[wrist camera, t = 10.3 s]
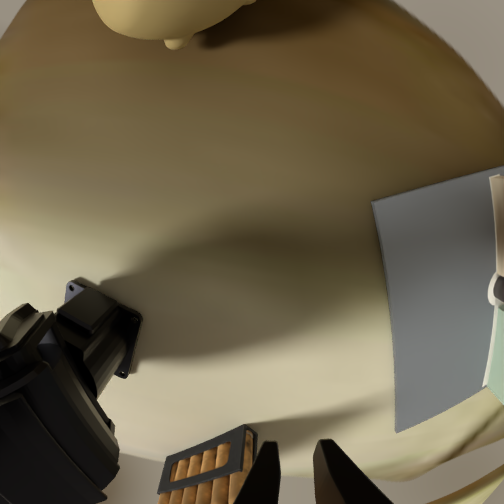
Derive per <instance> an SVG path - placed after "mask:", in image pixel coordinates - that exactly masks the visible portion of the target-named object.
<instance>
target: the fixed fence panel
mask: <svg viewBox="0 0 504 504" xmlns="http://www.w3.org/2000/svg"><path fill="white" fill-rule="evenodd" d="M491 185H492V192H493V200H494V209H495V220H496V234H497V274H499V275H500V276H499V277H498V278H497V280H496V282H495V284H494V288H493V294H494V297H496V298H497V299H499V300H500V301H502V302H504V176H496V177H492V178H491Z"/></svg>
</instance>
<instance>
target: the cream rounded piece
mask: <svg viewBox="0 0 504 504" xmlns="http://www.w3.org/2000/svg"><path fill="white" fill-rule="evenodd" d="M92 1H93V4H94V7H95V9H96V11H97V13H98V15H99V16H100V18H101V19H102V21H103V22H104V23H105V24H106V25H107V26H108V27H109V28H110V29H112V30H113V31H115V32H117V33H120V34H123V35H126V36H129V37H133V38H138V39H145V40H164V42H165V45H166V46H167V47H168V48H169V49H172V50H179V49H182V48H183V47H185V46H186V45H187V44H188V43H189V41H190V40H191V38H192V36H193V35H194V34H195V33H196V32H199V31H202V30H204V29H206V28H209V27H211V26H213V25H215V24H217V23H219V22H220V21H222V20H224V19H225V18H227V17H228V16H230V15H231V14H232V13H234V12H235V11H236V10H237V9H239V8H240V7H241V6H242V5H249V4H252V3H254V2H255V1H256V0H92Z"/></svg>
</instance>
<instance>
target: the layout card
mask: <svg viewBox="0 0 504 504" xmlns="http://www.w3.org/2000/svg"><path fill="white" fill-rule="evenodd" d="M496 176H504V166H499V167H495V168H491V169H487V170H483V171H480V172H476V173H472V174H468V175H465V176H461V177H457V178H453V179H450V180H446V181H442V182H439V183H435V184H431V185H428V186H424V187H420V188H417V189H413V190H409V191H406V192H402V193H399V194H395V195H392V196H388V197H384V198H381V199H377V200H374V201H371V204H372V209H373V213H374V218H375V223H376V227H377V232H378V237H379V243H380V248H381V254H382V260H383V266H384V272H385V279H386V286H387V293H388V301H389V309H390V318H391V329H392V340H393V355H394V374H395V432H396V433H399V432H401V431H403V430H406V429H408V428H410V427H413V426H415V425H417V424H419V423H421V422H424V421H426V420H428V419H430V418H432V417H434V416H436V415H438V414H440V413H442V412H444V411H446V410H448V409H449V408H451V407H453V406H455V405H457V404H459V403H460V402H462V401H464V400H466V399H467V398H469V397H471V396H472V395H474V394H476V393H477V392H479V391H481V390H482V389H484V388H485V387H487V382H488V378H489V373H490V368H491V362H492V356H493V350H494V343H495V335H496V326H497V316H498V308H499V307H500V306H502V305H503V304H504V302H502V301H500V300H499V299H497V298H496V297H494V294H493V288H494V284H495V282H496V280H497V278H498V277H499V276H500V275H499V274H497V234H496V220H495V209H494V200H493V192H492V185H491V178H492V177H496Z"/></svg>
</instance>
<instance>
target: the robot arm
mask: <svg viewBox="0 0 504 504" xmlns="http://www.w3.org/2000/svg"><path fill="white" fill-rule="evenodd" d="M72 286H73V287H74V289H73V288H72ZM133 317H135V318H137V320H138V321H135V320H134V318H133ZM142 321H143V318H142V315H141V314H140V313H138V312H137V311H134V310H132V309H130V308H128V307H126V306H124V305H122V304H120V303H118V302H117V301H116V300H114V299H112V298H110V297H108V296H106V295H104V294H102V293H100V292H98V291H96V290H94V289H92V288H90V287H86V286H84V285H82V284H80V283H79V282H77V281H75V280H71V281H70V282H68V283H67V286H66V294H65V302H64V304H63V305H62V306H60V307H59V308H58V309H57V312H56V313H55V314H54V313H53V311H47V312H42V313H39V312H38V310H36V309H34V308H33V307H32V306H31V305H30V304H29V303H26V304H22V305H21V306H19V307H18V308H16V309H14V310H13V311H11V312H10V313H9V314H7V315H6V316H5V317H4V318H3V319H2V320H1V321H0V504H96V503H99V502H102V501H105V500H106V499H107V495H106V494H104V493H103V492H102V490H103V489H104V488H105V487H107V485H108V484H109V483H110V482H111V481H112V480H113V479H114V478H115V476H116V474H117V473H118V471H119V469H120V466H119V464H118V457H119V450H120V449H119V446H118V442H117V439H116V438H115V436H114V432H115V425H114V423H113V422H112V420H111V419H109V418H108V417H107V415H106V414H105V412H104V411H103V409H102V408H101V406H100V405H99V403H98V401H97V399H98V397H99V396H100V394H101V393H102V391H103V390H104V388H105V386H106V385H107V383H108V382H109V380H110V379H111V377H112V376H113V374H114V375H116V376H118V377H120V378H123V379H126V378H127V377H128V375H129V373H130V368H131V364H132V360H133V356H134V352H135V348H136V344H137V340H138V336H139V332H140V328H141V325H142ZM121 371H122V372H124V373H122V372H121ZM313 467H314V484H315V498H316V504H394V503H393V502H392V501H390V500H389V499H388V498H387V497H386V496H385V495H384V494H383V493H382V491H381V490H380V489H378V487H377V486H376V485H375V484H374V483H373V482H372V481H371V480H370V479H369V478H368V477H367V476H366V475H365V474H364V473H363V472H362V471H361V470H360V469H359V468H358V467H357V465H356V464H355V463H354V462H353V461H352V460H351V459H350V458H349V457H348V456H347V455H346V454H345V453H344V451H343V450H342V449H341V448H340V447H339V446H338V445H337V444H336V443H335V441H334V440H332V439H320V440H319V441H318V442H317V445H316V448H315V451H314V455H313ZM280 479H281V468H280V459H279V450H278V443H277V441H264V442H263V444H262V446H261V448H260V450H259V452H258V454H257V456H256V459H255V461H254V463H253V465H252V467H251V469H250V471H249V473H248V475H247V477H246V479H245V481H244V483H243V485H242V487H241V489H240V491H239V493H238V495H237V497H236V498H235V500H234V502H233V504H278V497H279V488H280Z"/></svg>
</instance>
